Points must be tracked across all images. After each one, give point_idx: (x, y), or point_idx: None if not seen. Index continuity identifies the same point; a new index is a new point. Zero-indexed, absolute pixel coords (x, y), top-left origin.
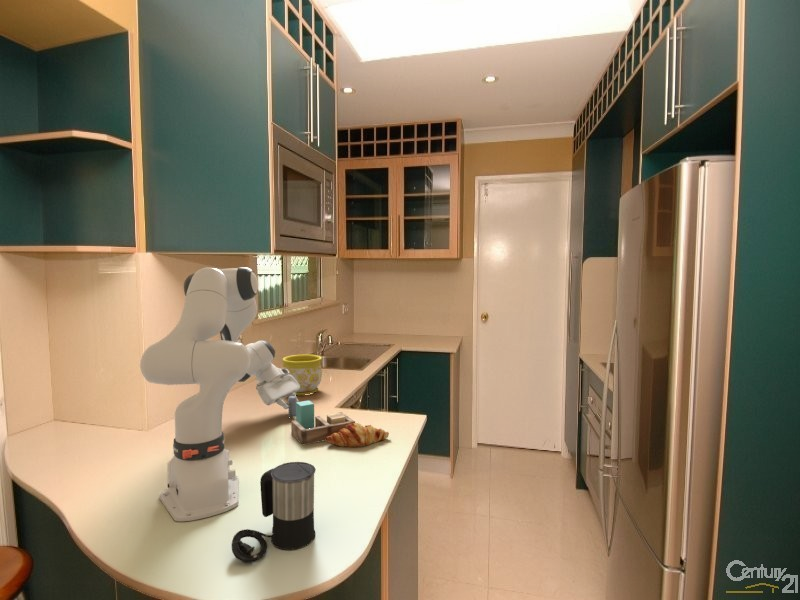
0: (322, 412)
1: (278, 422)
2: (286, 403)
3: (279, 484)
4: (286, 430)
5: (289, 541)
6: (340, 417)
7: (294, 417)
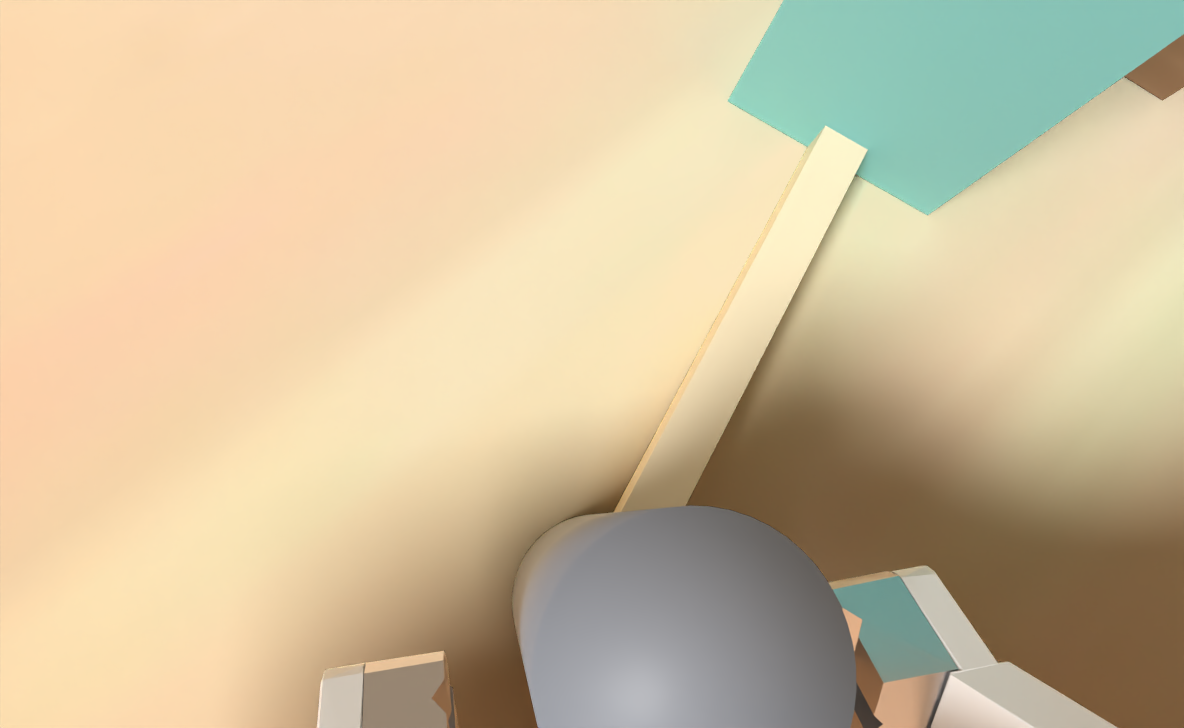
0: (48, 262)
1: None
2: (939, 656)
3: None
4: (1123, 246)
5: None
6: None
7: (707, 461)
